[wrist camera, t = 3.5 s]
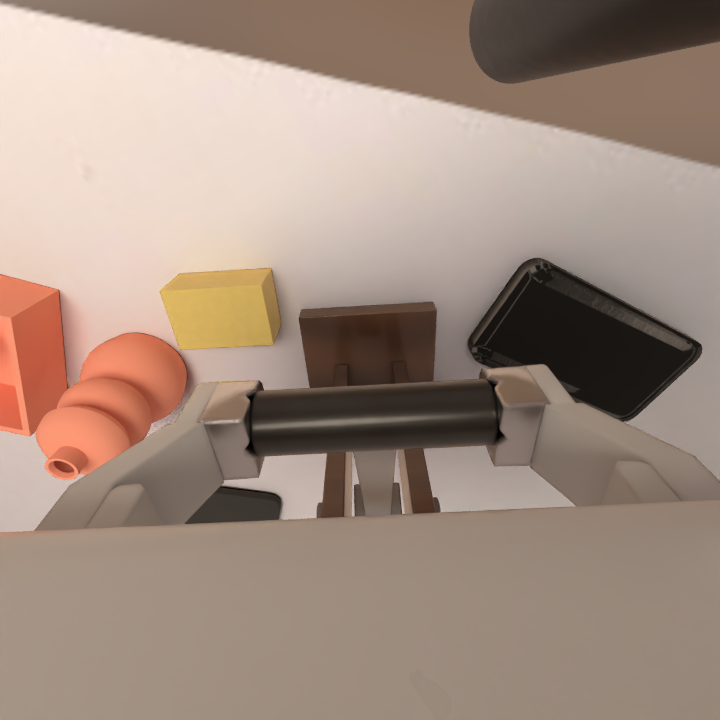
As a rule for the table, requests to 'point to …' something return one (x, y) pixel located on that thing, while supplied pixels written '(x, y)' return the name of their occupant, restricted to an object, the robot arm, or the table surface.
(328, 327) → the brown wooden frame
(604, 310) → the phone
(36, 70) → the table surface
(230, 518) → the phone
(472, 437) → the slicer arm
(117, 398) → the pottery
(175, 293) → the butter block
